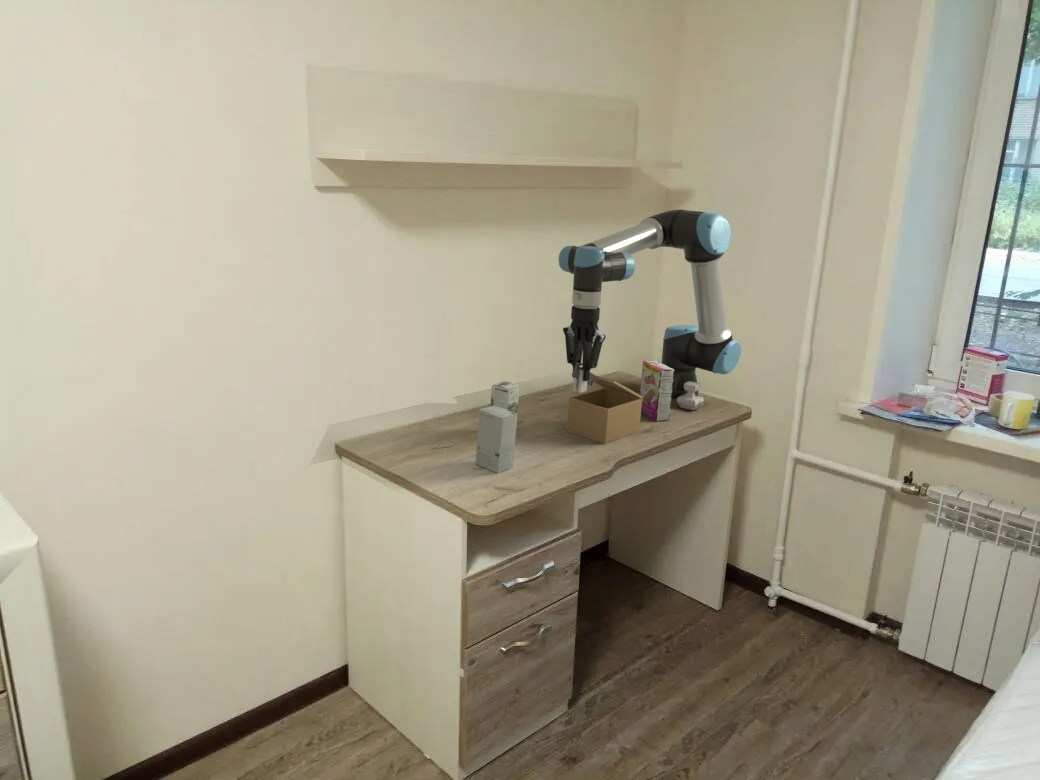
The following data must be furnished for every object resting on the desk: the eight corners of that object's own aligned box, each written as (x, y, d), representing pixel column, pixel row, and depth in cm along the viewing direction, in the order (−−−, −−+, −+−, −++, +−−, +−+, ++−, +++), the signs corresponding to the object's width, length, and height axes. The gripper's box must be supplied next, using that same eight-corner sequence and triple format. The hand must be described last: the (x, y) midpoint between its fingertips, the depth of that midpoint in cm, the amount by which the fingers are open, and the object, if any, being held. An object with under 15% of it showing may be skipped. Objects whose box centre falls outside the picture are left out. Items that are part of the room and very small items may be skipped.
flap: (601, 395, 236) (604, 385, 237) (639, 406, 228) (642, 396, 228) (553, 370, 217) (557, 360, 217) (592, 381, 208) (596, 370, 208)
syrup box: (499, 428, 227) (501, 379, 223) (517, 432, 225) (519, 383, 220) (488, 433, 223) (490, 384, 218) (506, 438, 220) (509, 388, 216)
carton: (601, 419, 240) (603, 387, 237) (639, 431, 230) (642, 399, 228) (566, 430, 228) (569, 397, 225) (605, 444, 219) (608, 409, 216)
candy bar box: (637, 410, 250) (642, 360, 245) (651, 409, 251) (656, 359, 247) (655, 422, 240) (661, 369, 235) (669, 420, 242) (675, 369, 237)
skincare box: (474, 464, 200) (476, 408, 196) (491, 458, 205) (493, 404, 200) (499, 474, 195) (501, 417, 191) (515, 468, 199) (518, 412, 195)
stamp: (672, 407, 255) (674, 382, 252) (681, 403, 260) (683, 378, 258) (698, 413, 250) (701, 388, 247) (706, 409, 255) (709, 384, 253)
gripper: (556, 303, 212) (551, 387, 219) (598, 311, 203) (591, 399, 209) (574, 300, 217) (569, 382, 224) (615, 308, 208) (608, 394, 215)
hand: (579, 390), depth 217 cm, fingers closed on flap
